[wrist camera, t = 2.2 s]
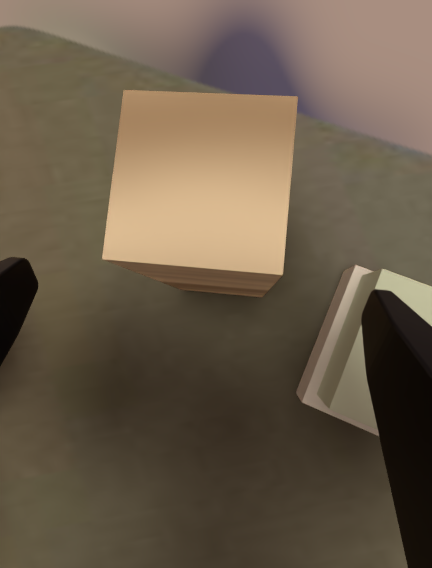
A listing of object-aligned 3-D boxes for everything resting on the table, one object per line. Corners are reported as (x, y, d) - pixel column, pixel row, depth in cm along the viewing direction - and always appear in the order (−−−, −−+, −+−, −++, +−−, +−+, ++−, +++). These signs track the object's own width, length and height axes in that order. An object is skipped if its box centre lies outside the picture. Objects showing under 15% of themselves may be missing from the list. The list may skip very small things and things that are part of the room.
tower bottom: (423, 446, 18) (451, 468, 15) (294, 390, 18) (301, 402, 16) (469, 320, 18) (504, 321, 15) (341, 271, 19) (355, 264, 16)
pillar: (262, 297, 19) (283, 274, 8) (181, 289, 19) (102, 258, 9) (269, 216, 19) (297, 96, 8) (189, 211, 19) (123, 89, 9)
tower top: (445, 448, 15) (484, 475, 13) (316, 394, 16) (328, 409, 13) (490, 323, 15) (537, 325, 13) (362, 275, 16) (382, 268, 14)
